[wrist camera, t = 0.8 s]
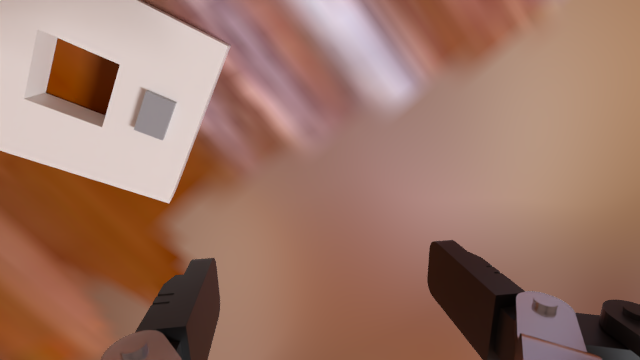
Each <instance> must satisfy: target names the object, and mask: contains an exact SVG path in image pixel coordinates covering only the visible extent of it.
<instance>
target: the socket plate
mask: <svg viewBox="0 0 640 360" xmlns="http://www.w3.org/2000/svg"><path fill="white" fill-rule="evenodd" d="M57 38H59V39H62V40H64V41H66V42H69V43H71V44H73V45H76V46H78V47H80V48H82V49H85V50H87V51H89V52H92V53H94V54H96V55H99V56H101V57H103V58H106V59H108V60H110V61H113V62H115V63H117V64H119V65H120V66H119V69H118V73H117V77H116V80H115V84H114V87H113V91H112V94H111V98H110V101H109V105H108V109H107V112H106V115H103V114H100V113H98V112H95V111H92V110H90V109H87V108H84V107H82V106H79V105H76V104H74V103H71V102H68V101H66V100H63V99H61V98H58V97H55V96H53V95H50V94H47V93H46V89H47V84H48V80H49V75H50V70H51V66H52V61H53V57H54V52H55V47H56V43H57ZM230 46H231V45H229V44H227V43H225V42H223V41H221V40H219V39H217V38H215V37H213V36H211V35H209V34H207V33H205V32H203V31H201V30H199V29H197V28H195V27H193V26H191V25H189V24H187V23H185V22H183V21H181V20H179V19H177V18H175V17H173V16H171V15H170V14H168V13H166V12H164V11H162V10H160V9H158V8H156V7H154V6H152V5H150V4H148V3H146V2H144V1H142V0H0V151H3V152H6V153H10V154H13V155H16V156H19V157H22V158H26V159H29V160H32V161H35V162H38V163H42V164H45V165H48V166H51V167H54V168H58V169H61V170H64V171H67V172H70V173H74V174H77V175H80V176H83V177H86V178H90V179H93V180H96V181H99V182H102V183H106V184H109V185H112V186H115V187H118V188H122V189H125V190H128V191H131V192H134V193H138V194H141V195H144V196H147V197H150V198H154V199H157V200H160V201H163V202H166V203H170V201H171V199H172V197H173V195H174V193H175V191H176V189H177V186H178V183H179V181H180V178H181V175H182V173H183V170H184V168H185V165H186V162H187V160H188V157H189V154H190V152H191V149H192V146H193V144H194V141H195V139H196V136H197V133H198V131H199V128H200V125H201V123H202V120H203V117H204V115H205V112H206V110H207V107H208V104H209V102H210V99H211V96H212V94H213V91H214V88H215V86H216V83H217V81H218V78H219V75H220V73H221V70H222V67H223V65H224V62H225V59H226V57H227V54H228V52H229V49H230Z"/></svg>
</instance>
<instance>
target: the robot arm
mask: <svg viewBox="0 0 640 360" xmlns="http://www.w3.org/2000/svg"><path fill="white" fill-rule="evenodd" d="M428 286H429V290H430V293H431V294H432V296H433V297H434V299H435V300H436V301H437V302H438V304H439V305H440V306H441V307H442V308H443V310H444V311H445V312H446V314H447V315H448V316H449V318H450V319H451V320H452V321H453V322H454V324H455V325H456V326H457V328H458V329H459V330H460V331H461V333H463V335H464V336H465V338H466V339H467V340H468V341H469V343H470V344H471V345H472V347H473V348H474V349H475V350H476V352H477V353H478V354H479V355H480V357H481V358H482V359H483V360H640V305H639V304H636V303H633V302H628V301H623V300H608V301H605V302H604V303H603V306H602V310H601V314H600V315H591V314H590V315H589V314H581V313H575V312H574V310H573V309H572V308H571V307H570V306H569V305H568V304H567V303H565V302H563V301H562V300H560V299H558V298H556V297H554V296H551V295H548V294H545V293H540V292H533V291H532V292H531V291H527V292H525V291H524V290H523V289H521V288H520V287H519V286H517V285H516V284H515V283H514V282H512V281H511V280H510V279H509V278H507V277H506V276H505V275H503V274H502V273H500V272H499V271H498V270H497V269H496V268H494V267H492V265H490V264H489V263H488V262H486V261H485V260H484V259H483V258H481V257H479V256H477V255H474V254H472V253H470V252H467V251H466V250H465V249H464V248H462V247H461V246H460V245H459V244H457V243H456V242H455V241H453V240H448V241H435V242H432V243H431V245H430V252H429V266H428ZM219 311H220V295H219V286H218V277H217V267H216V261H215V259H214V258H208V259H195V260H191V262H190V264H189V266H188V268H187V270H186V272H185V273H184V275H175V276H174V277H173V278H171V279H170V280H169V281H168V282H166V283H165V284H164V285H163V287H162V288H161V290H160V292H159V293H158V297H156V298H155V300H154V302H153V305H151V307H150V308H149V310H148V312H147V313H146V315H145V317H144V318H143V320H142V322H141V323H140V325H139V327H138V328H137V330H136V332H135V333H132V334H129V335H127V336H125V337H123V338H121V339H119V340H118V341H116V342H115V343H114V344H112V345H111V346H110V347H109V348H108V349H107V350H106V351H105V352H104V354H103V355H102V357H101V360H207V359H208V356H209V351H210V348H211V344H212V340H213V336H214V333H215V329H216V325H217V321H218V317H219Z"/></svg>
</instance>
